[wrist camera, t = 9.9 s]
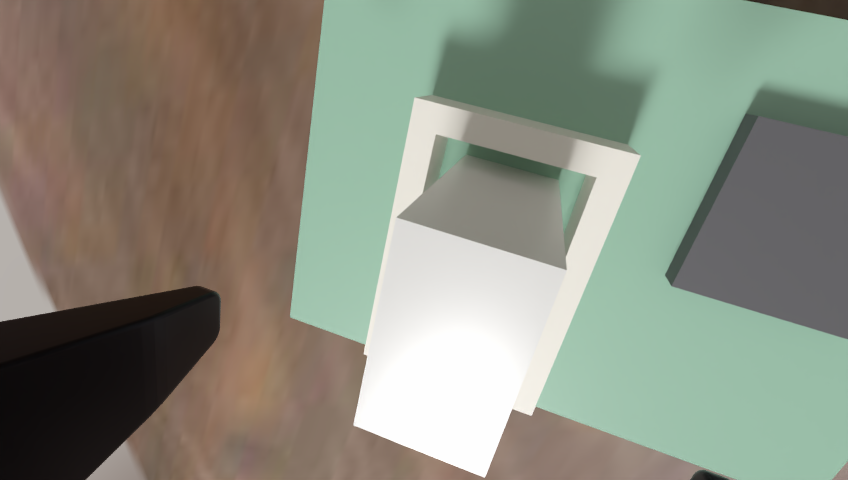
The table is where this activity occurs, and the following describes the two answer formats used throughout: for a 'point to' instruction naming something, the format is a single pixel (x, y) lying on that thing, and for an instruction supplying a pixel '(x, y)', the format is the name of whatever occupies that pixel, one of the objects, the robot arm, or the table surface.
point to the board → (616, 203)
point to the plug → (463, 310)
